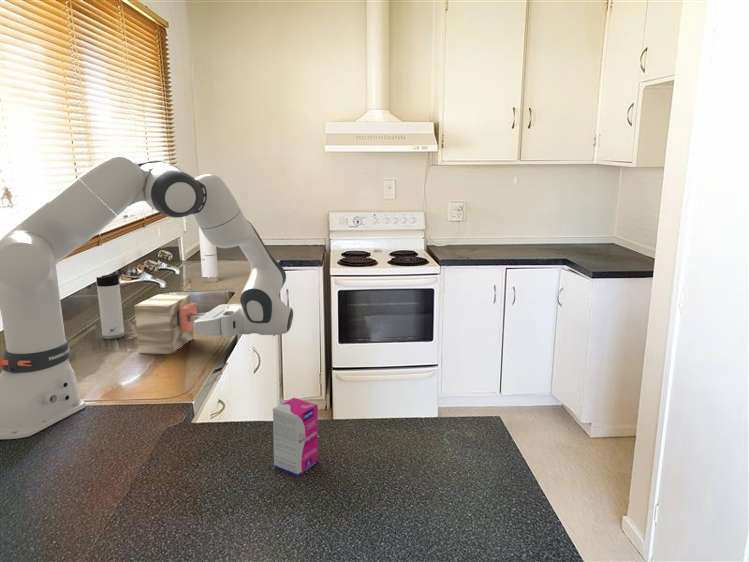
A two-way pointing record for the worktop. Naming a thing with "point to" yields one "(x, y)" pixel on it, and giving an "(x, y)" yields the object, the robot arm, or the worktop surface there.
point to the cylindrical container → (208, 257)
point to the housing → (161, 324)
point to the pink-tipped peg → (186, 316)
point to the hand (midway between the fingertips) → (192, 317)
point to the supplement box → (295, 436)
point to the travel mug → (110, 306)
